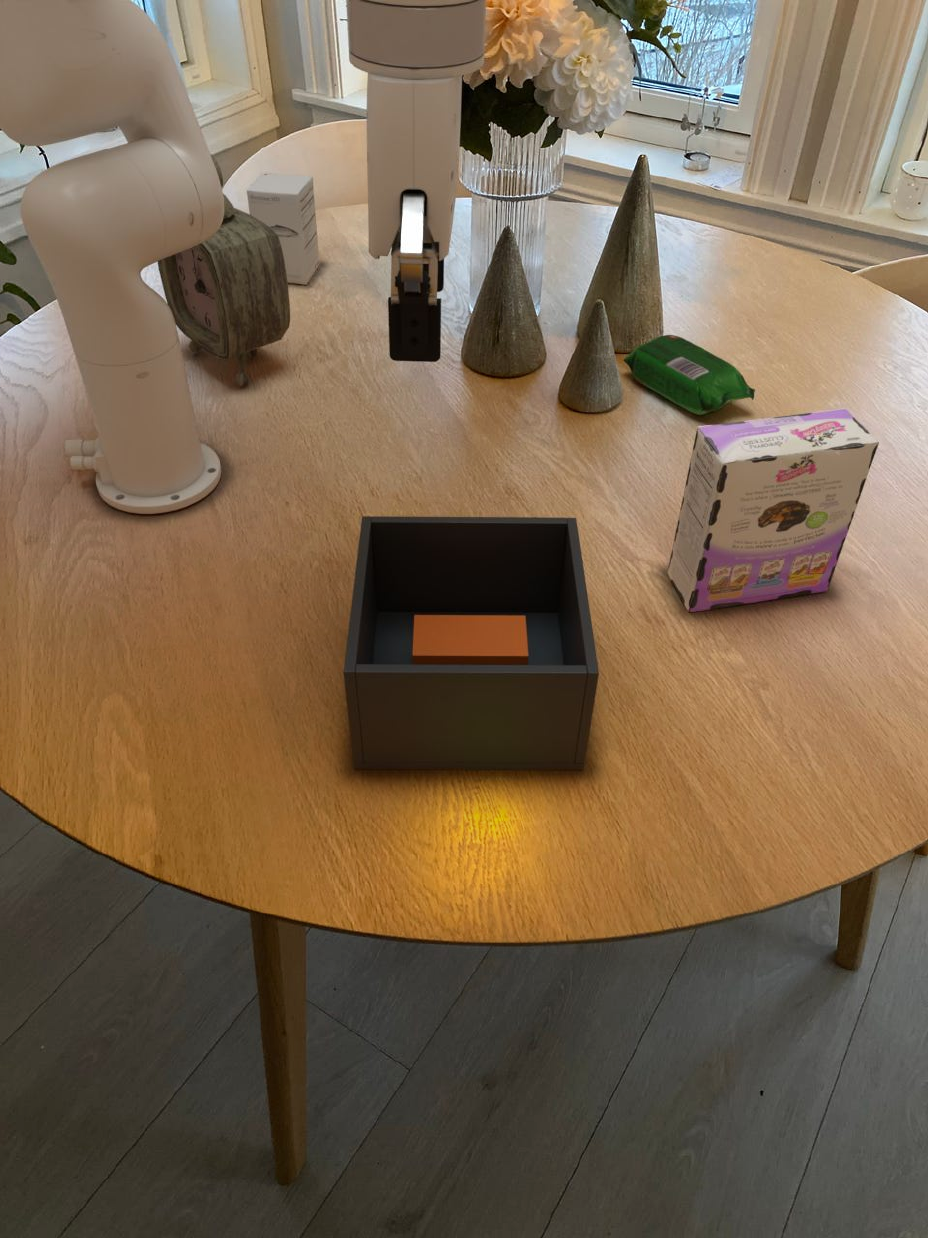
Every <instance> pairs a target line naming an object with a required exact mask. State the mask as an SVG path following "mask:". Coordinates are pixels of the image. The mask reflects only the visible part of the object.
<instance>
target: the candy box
mask: <svg viewBox="0 0 928 1238" xmlns="http://www.w3.org/2000/svg"><path fill="white" fill-rule="evenodd" d="M879 444H880V441H879V440H878V439H877V438H876V437H874V436H873V435H872V434H871V432H870V431H869V430H867V428H866V427H865V426H864V425H863V424H861V423H860V422H859V421H858V420H857V419H856V418H855V417H854V416H853V415H852V414H851V412H849V410H848V409H846V408H845V407H842V408H835V409H828V410H820V411H813V412H806V413H805V412H804V413H799V414H791V415H783V416H782V415H781V416H773V417H766V418H758V419H750V420H749V419H748V420H743V421H735V422H733V421H732V422H726V423H716V424H708V425H698V426H697V427H696V433H695V437H694V441H693V447H692V452H691V455H690V456H691V457H690V462H689V465H688V471H687V474H686V475H687V476H686V480H685V486H684V490H683V495H682V499H681V504H680V505H681V506H680V509H679V515H678V520H677V524H676V528H675V533H674V539H673V543H672V548H671V553H670V557H669V563H668V568H667V573H666V574H667V575H668V579H669V580H670V582H671V584H672V585H673V587H674V588H675V591H676V592H677V594H678V596H679V598H680V600H681V602H682V604H683V606H684V607H685V609H686V611H687V612H691V613H695V612H703V611H709V610H715V609H720V608H728V607H735V606H740V605H745V604H754V603H761V602H766V601H770V600H771V601H772V600H779V599H784V598H791V597H797V596H802V595H803V596H805V595H810V594H816V593H823V592H827V591H828V590H829V588H830V585H831V582H832V579H833V576H834V573H835V570H836V567H837V565H838V563H839V558H840V556H841V554H842V550H843V547H844V543H845V541H846V538H847V536H848V533H849V531H850V527H851V524H852V523H853V522H852V521H853V519H854V516H855V513H856V510H857V508H858V504H859V501H860V499H861V496H862V493H863V490H864V487H865V483H866V481H867V478H868V475H869V472H870V469H871V466H872V464H873V461H874V458H875V456H876V453H877V450H878V447H879Z"/></svg>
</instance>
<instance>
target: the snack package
mask: <svg viewBox="0 0 928 1238" xmlns="http://www.w3.org/2000/svg"><path fill="white" fill-rule="evenodd" d="M622 361H623V363H625V364H626V365H627V366H628V367H629V370H630V371H631V373H632V375H633V377H634V379H636V381H638V382H639V384H641V385H642V386H644V387H646V388H648V389H649V390H651V391H653V392H655V393H657V394H658V395H660V396H662V397H663V398H665V399H667V400H669V401H670V402H672V403H674V404H675V405H677V406H678V407H681V408H683V409H684V410H687V411H688V412H690V413H692V414H695V415H698V416H703V415H705V414H708V413H710V412H716V411H719V410H720V409H722V408H723V407H724V406H725V405H726V404H728V403H732V402H735V401H738V400H744V399H748V398H749V399H751V400H752V401H754V399H755V393H756V389H755V388H752V387H751V386H750V385H749V384H748V383H747V382H746V380H745V377H744V376H743V375H742V373H741V372H740V371H739V370H738V369H737V368H736V367H735V366H734V365H732V363H729V362H728V361H726V360H724V359H723V358H721V357H719V356H717V355H715V354H713V353H712V352H710V351H708V350H706V349H704V348H703V347H701V346H699V345H697V344H695V343H693V342H692V341H689V340H687V339H685V338H683V337H681V336H678V335H674V334H665V335H661V336H657V337H655V338H653V339H651V340H650V341H648V342H646V343H643V344H641V345H639V346H637V347H636V348H634V349H633V350H632V351H631V352H630V353H629V354H628V355H627V356H626V357H625V358H623V360H622Z"/></svg>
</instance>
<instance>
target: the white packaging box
mask: <svg viewBox="0 0 928 1238" xmlns="http://www.w3.org/2000/svg"><path fill="white" fill-rule="evenodd" d="M246 196H247V203H248V211H249V214H250V215H252V216H253V217H255V218H257V219H258V220H260V221H262V222H263V223H265V224H266V225H268V226H269V227H271V228H272V229H273V230H274V232H275V233H276V234H277V235H278V237H279V240H280V243H281V247H282V251H283V256H284V262H285V268H286V275H287V282H288V284H298V285H303V286H305V285H308V283H309V282H310V280H311V279H312V277H313V276H314V274H315V273H316V271H317V269H318V268H319V266H320V253H319V238H318V227H317V226H318V225H317V216H316V215H317V213H316V204H315V203H316V202H315V192H314V177H313V176H312V175H311V176H310V175H297V174H285V173H272V172H261V173H260V174H259V175H258V176H257V178H255V180H254V181H253V182H252V183H251V184H250V186H249V187H248V188H247V189H246Z"/></svg>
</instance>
